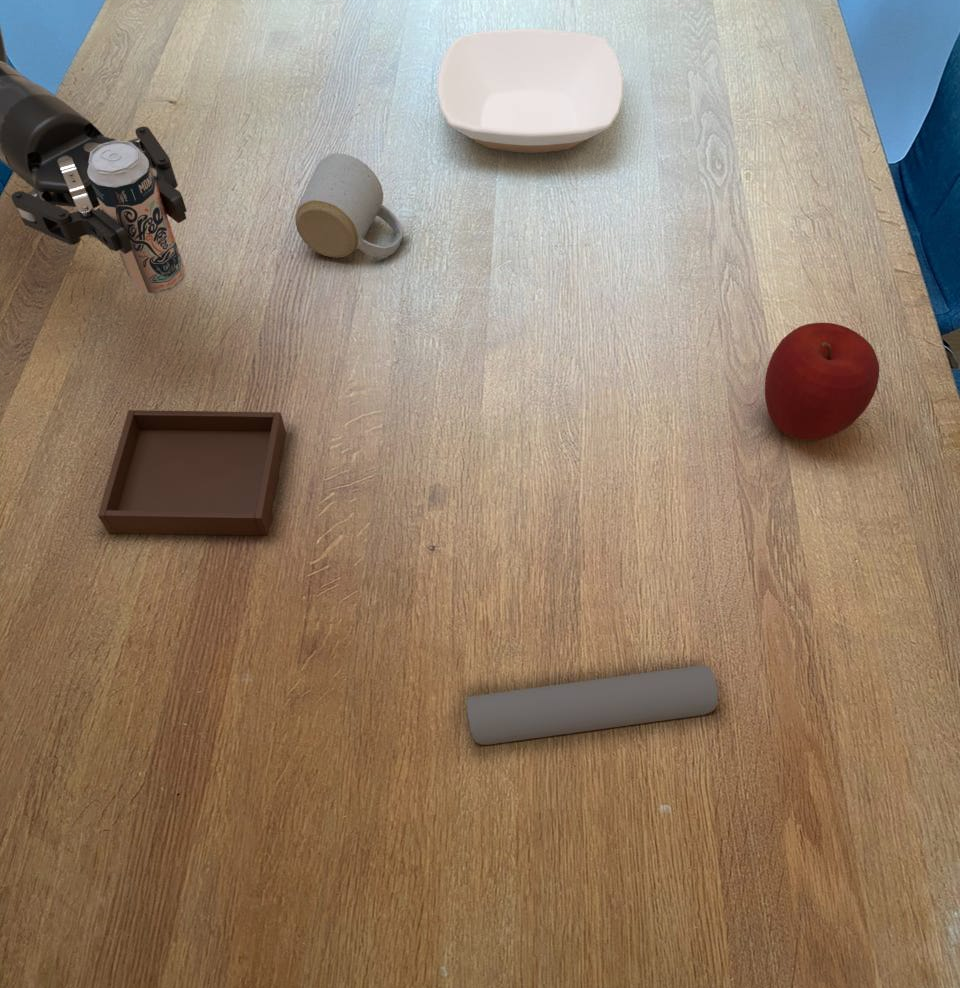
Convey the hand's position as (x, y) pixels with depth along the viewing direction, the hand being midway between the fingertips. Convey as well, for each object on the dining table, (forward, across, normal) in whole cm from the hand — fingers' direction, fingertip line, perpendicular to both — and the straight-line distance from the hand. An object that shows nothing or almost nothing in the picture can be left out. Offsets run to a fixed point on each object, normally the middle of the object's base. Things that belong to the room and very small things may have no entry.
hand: (152, 226), depth 77 cm
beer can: (-3, 0, -7) cm, 8 cm away
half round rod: (+50, 0, -17) cm, 53 cm away
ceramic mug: (-6, -24, -18) cm, 31 cm away
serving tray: (+9, +8, -18) cm, 21 cm away
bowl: (-7, -53, -18) cm, 57 cm away
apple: (+45, -36, -18) cm, 60 cm away
